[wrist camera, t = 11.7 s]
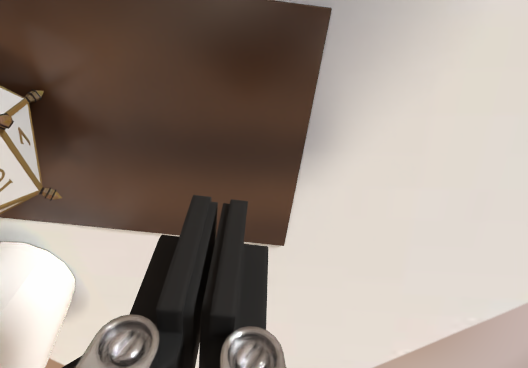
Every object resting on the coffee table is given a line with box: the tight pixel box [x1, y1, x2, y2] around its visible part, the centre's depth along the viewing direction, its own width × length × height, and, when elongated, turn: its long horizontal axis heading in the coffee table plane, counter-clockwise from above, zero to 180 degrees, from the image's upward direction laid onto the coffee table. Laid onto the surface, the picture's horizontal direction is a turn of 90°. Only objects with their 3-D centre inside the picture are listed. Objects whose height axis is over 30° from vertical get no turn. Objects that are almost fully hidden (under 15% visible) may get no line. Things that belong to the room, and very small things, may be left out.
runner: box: [0, 0, 332, 246], centre depth 18 cm, size 14×24×1 cm, turn 83°
